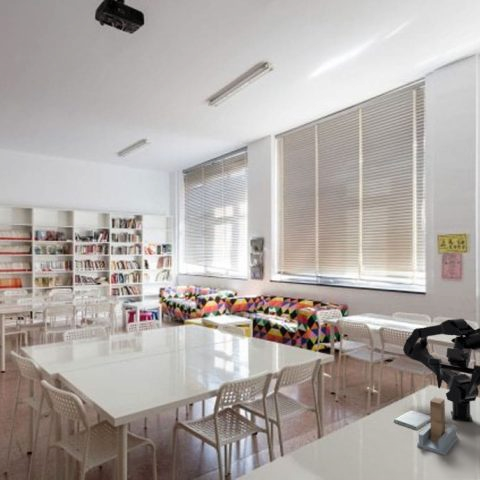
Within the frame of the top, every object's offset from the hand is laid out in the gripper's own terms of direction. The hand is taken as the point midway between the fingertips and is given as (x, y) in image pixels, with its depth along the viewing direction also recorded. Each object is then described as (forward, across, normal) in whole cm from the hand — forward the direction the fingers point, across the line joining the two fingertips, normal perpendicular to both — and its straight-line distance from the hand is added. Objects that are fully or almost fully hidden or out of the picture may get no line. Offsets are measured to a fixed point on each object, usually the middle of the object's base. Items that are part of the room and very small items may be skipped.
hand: (453, 390), depth 136 cm
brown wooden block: (+17, -1, 0) cm, 17 cm away
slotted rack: (+18, -1, +1) cm, 18 cm away
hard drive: (+11, -13, +10) cm, 20 cm away
